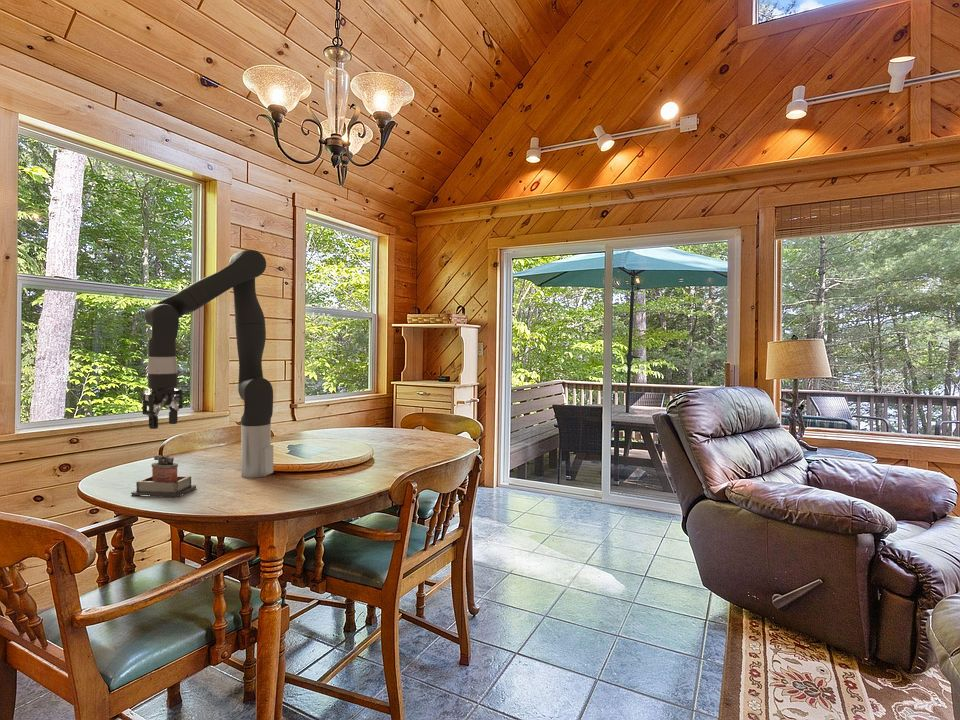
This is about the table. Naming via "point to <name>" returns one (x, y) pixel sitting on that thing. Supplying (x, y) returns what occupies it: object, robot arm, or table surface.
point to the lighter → (164, 469)
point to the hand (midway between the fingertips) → (163, 426)
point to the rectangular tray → (164, 487)
